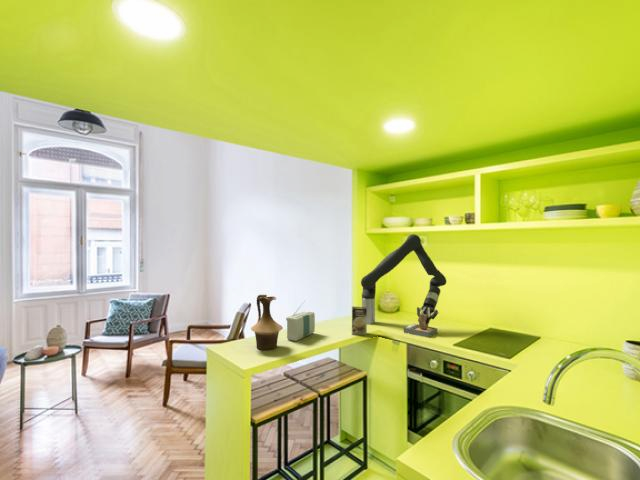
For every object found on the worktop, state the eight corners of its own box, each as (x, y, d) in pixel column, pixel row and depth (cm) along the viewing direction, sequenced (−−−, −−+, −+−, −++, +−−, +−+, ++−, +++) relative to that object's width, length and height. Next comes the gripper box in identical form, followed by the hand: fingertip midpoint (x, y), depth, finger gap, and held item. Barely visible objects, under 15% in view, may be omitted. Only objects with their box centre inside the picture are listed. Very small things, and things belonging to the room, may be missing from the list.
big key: (412, 333, 197) (412, 329, 197) (420, 329, 205) (420, 326, 205) (426, 335, 191) (426, 332, 191) (434, 332, 199) (434, 328, 199)
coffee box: (351, 334, 194) (351, 308, 195) (351, 332, 201) (351, 306, 201) (366, 335, 193) (366, 308, 194) (366, 332, 200) (366, 306, 200)
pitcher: (243, 347, 170) (243, 294, 170) (267, 340, 183) (267, 291, 183) (265, 354, 159) (265, 298, 159) (289, 346, 172) (289, 294, 172)
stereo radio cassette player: (297, 342, 179) (297, 306, 180) (285, 340, 183) (285, 305, 184) (315, 333, 198) (315, 301, 198) (304, 331, 202) (304, 300, 202)
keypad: (403, 332, 200) (403, 326, 200) (413, 328, 209) (413, 322, 209) (428, 337, 189) (428, 331, 189) (437, 333, 198) (437, 326, 198)
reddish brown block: (419, 329, 198) (419, 314, 198) (422, 327, 201) (421, 313, 201) (425, 330, 195) (425, 315, 195) (428, 329, 198) (428, 314, 198)
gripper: (418, 296, 209) (410, 317, 200) (440, 298, 200) (432, 321, 190) (422, 303, 213) (414, 324, 204) (443, 305, 203) (436, 328, 194)
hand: (423, 322), depth 197 cm, fingers closed on reddish brown block, 4 cm apart
